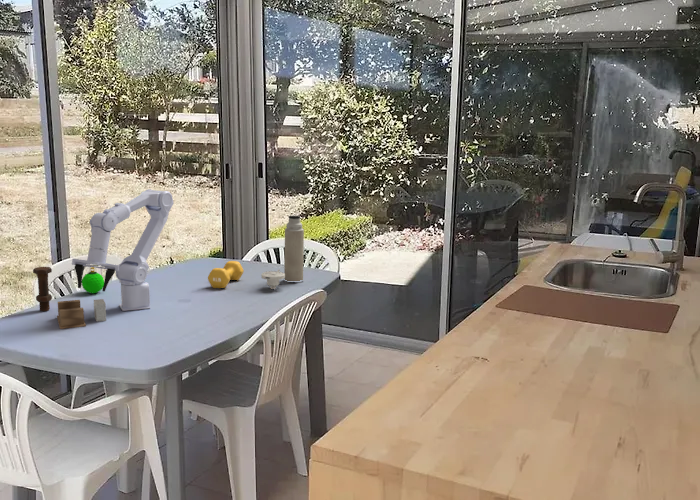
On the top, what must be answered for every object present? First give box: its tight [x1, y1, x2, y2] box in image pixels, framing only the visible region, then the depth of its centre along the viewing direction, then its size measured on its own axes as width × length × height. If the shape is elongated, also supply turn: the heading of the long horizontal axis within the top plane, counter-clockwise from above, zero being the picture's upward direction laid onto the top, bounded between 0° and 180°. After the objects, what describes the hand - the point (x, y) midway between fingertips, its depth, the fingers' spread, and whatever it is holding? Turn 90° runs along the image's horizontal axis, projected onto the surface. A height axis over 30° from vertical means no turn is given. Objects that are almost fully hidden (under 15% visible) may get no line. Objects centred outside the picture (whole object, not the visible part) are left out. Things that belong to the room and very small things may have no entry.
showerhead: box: [260, 268, 285, 290], centre depth 263 cm, size 9×7×10 cm
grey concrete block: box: [93, 298, 107, 323], centre depth 218 cm, size 3×6×6 cm, turn 28°
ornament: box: [81, 267, 105, 294], centre depth 249 cm, size 8×8×10 cm
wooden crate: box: [56, 299, 87, 330], centre depth 214 cm, size 8×14×6 cm, turn 27°
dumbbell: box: [207, 260, 245, 289], centre depth 270 cm, size 19×9×8 cm, turn 167°
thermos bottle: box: [283, 214, 305, 281], centre depth 276 cm, size 8×8×28 cm
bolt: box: [32, 266, 53, 312], centre depth 224 cm, size 6×5×15 cm
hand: (91, 289), depth 216 cm, fingers open, 7 cm apart
